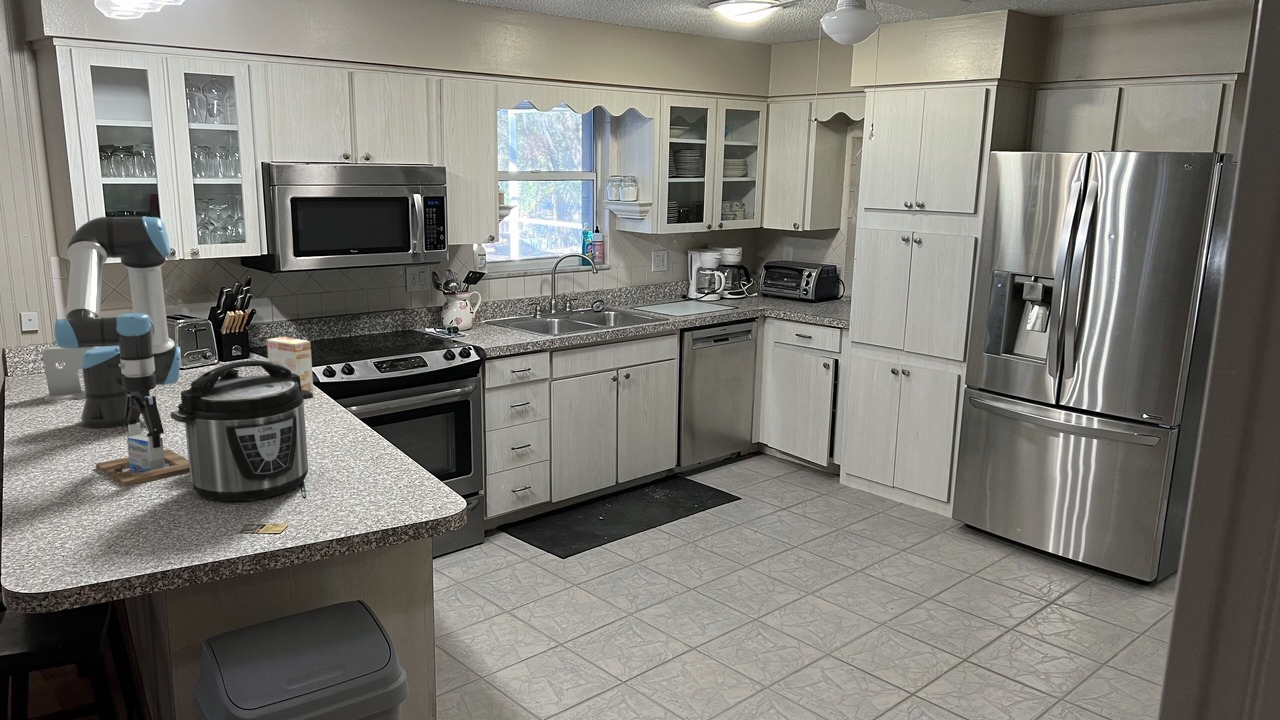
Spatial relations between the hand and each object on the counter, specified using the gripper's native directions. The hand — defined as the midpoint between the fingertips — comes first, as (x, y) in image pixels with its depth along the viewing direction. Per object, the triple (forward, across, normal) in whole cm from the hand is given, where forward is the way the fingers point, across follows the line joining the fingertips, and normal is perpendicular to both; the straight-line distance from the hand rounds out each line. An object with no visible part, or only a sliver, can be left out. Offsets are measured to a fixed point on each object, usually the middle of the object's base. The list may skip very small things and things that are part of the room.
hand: (146, 453), depth 236 cm
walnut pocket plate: (+4, 0, 0) cm, 4 cm away
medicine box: (+4, 0, 0) cm, 5 cm away
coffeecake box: (+4, -49, +65) cm, 81 cm away
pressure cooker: (+4, +32, +13) cm, 35 cm away
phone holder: (+4, -98, +12) cm, 99 cm away
